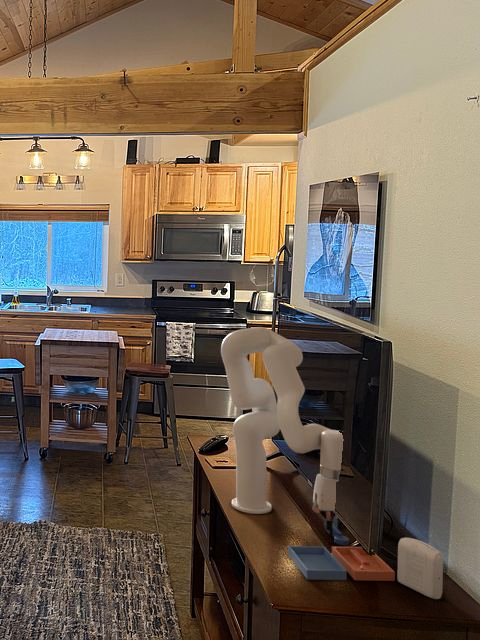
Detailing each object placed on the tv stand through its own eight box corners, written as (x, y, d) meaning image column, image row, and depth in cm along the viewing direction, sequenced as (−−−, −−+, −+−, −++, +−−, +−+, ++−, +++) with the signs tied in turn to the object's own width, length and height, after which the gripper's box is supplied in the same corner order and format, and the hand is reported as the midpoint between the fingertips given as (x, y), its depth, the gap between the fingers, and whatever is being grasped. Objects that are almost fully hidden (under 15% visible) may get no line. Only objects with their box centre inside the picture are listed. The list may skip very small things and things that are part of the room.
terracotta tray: (331, 555, 183) (331, 546, 183) (368, 555, 182) (368, 547, 182) (354, 580, 169) (354, 570, 169) (394, 581, 168) (394, 571, 168)
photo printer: (445, 597, 160) (446, 548, 160) (434, 601, 159) (435, 551, 158) (405, 578, 170) (405, 531, 169) (394, 581, 168) (394, 535, 167)
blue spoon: (322, 528, 199) (322, 522, 199) (334, 528, 198) (335, 522, 198) (337, 545, 188) (337, 538, 188) (351, 545, 187) (351, 539, 187)
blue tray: (287, 554, 184) (287, 545, 184) (324, 555, 183) (324, 546, 183) (307, 579, 170) (307, 570, 170) (346, 580, 169) (346, 570, 169)
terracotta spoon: (345, 556, 181) (345, 549, 181) (359, 556, 181) (360, 549, 181) (364, 576, 170) (364, 568, 170) (379, 576, 170) (379, 568, 170)
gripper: (355, 468, 197) (354, 527, 199) (302, 467, 199) (301, 525, 200) (367, 477, 190) (365, 538, 191) (311, 476, 191) (310, 537, 192)
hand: (332, 531), depth 196 cm, fingers closed on blue spoon, 1 cm apart
